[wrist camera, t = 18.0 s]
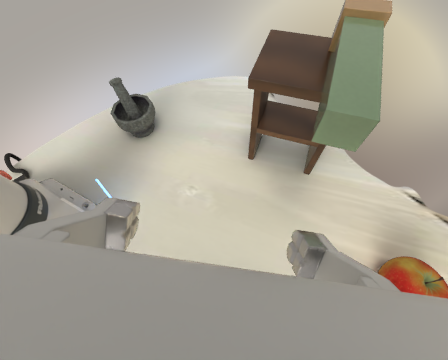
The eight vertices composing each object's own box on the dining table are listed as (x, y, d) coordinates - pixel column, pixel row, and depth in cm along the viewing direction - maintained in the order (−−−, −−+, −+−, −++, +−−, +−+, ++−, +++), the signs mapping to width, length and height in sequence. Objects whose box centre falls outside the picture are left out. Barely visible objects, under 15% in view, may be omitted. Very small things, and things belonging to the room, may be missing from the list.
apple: (356, 282, 38) (392, 277, 29) (383, 252, 40) (425, 239, 31) (400, 327, 34) (456, 336, 26) (427, 291, 37) (488, 288, 28)
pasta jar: (359, 153, 22) (391, 114, 18) (307, 140, 23) (324, 101, 19) (369, 45, 31) (392, 0, 26) (330, 39, 32) (346, -5, 27)
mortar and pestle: (167, 131, 56) (151, 92, 46) (133, 149, 54) (109, 112, 44) (148, 106, 61) (130, 66, 51) (116, 122, 59) (91, 83, 48)
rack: (305, 190, 47) (363, 99, 26) (242, 172, 49) (248, 77, 28) (314, 147, 52) (368, 42, 31) (257, 133, 55) (271, 29, 34)
